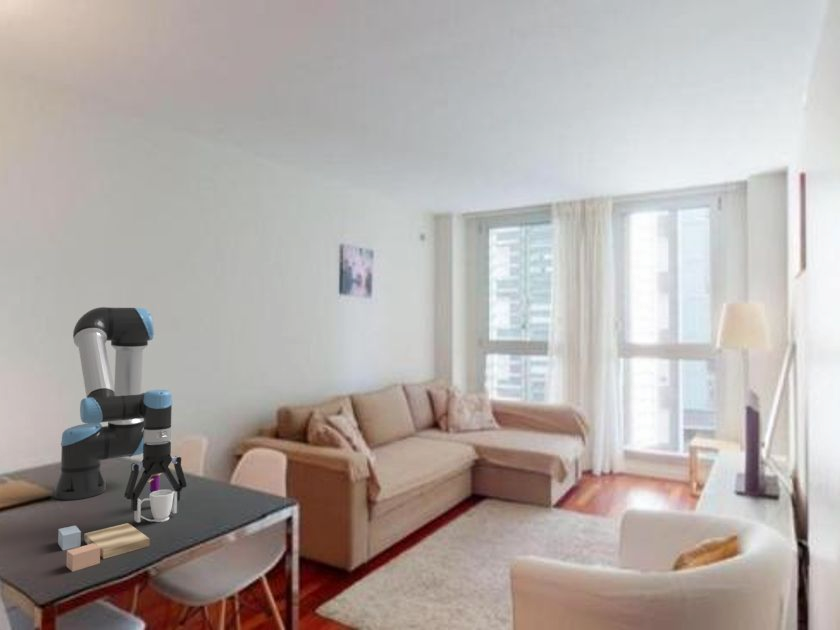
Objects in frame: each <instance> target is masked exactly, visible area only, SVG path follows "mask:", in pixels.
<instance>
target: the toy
mask: <svg viewBox="0 0 840 630" xmlns="http://www.w3.org/2000/svg"><path fill="white" fill-rule="evenodd" d="M160 475H162V473H157V474H153V475H151V477H150V478H149V479H148V481H147V483H148V484H149V483H150V485H149V487H150V488H149V490H150V493H151V492H154V491H157V490H160ZM148 507H149V508H150V509H151V505H149V506H148Z"/></svg>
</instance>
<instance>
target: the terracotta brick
mask: <svg viewBox="0 0 840 630" xmlns="http://www.w3.org/2000/svg"><path fill="white" fill-rule="evenodd" d="M65 563H66V568H68V569H69V570H70V571H71V572H76V571H79V570H82V569H86V568H89V567H91V566H95V565H98V564H100V563H101V556H100V547H99V546H97V545H96V544H94V543H92V544H89V545H88V544H86V545H82V546H80V547H76V548H71V549H67V550H66V562H65Z"/></svg>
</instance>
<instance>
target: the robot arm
mask: <svg viewBox="0 0 840 630" xmlns="http://www.w3.org/2000/svg"><path fill="white" fill-rule="evenodd" d="M154 327H155V326H154V321H153V318H152V315H151V312H150V311H149V310H148V309H146V308H141V307H107V306H105V307H104V306H102V307H96V308H93V309H91V310H88V311H87V312H86V313H84V314H83V315H82V316H81V317H80V318H79V319H78V321H77V322H76V324H75V326H74V329H73V334H72V338H73V343H74V345H75V346H76V347H77V348H78V353H79V358H80V364H81V371H82V376H83V385H84V389H85V390H84V391H85V394H86V395H85V396H86V397H85V398H82V400H80V404H79V416H80V420H81V422H82V424H77V425H75V426H71V427H69V428H67V429H65V430H64V431H63V432H62V434H61V441H60V442H61V443H60V446H61V450H60V451H61V452H60V453H61V456H60V457H61V458H60V474H59V478H58V480H57V483H56V484H55V488H54V489H53V490H54V493H53V495H54V496H53V497H54V498H55V499H56V500H64V501H65V500H66V501H67V500H68V501H70V500H81V499H82V500H83V499H87V498H92V497H95V496H99V495H101V494H102V493H104V492H106V490H107V487H106V486H107V485H106V480H105V477H104V475H103V472H102V469H101V461H104V460H105V461H106V460H112V459H113V460H114V459H119V458H127V457H128V458H129V457H130V458H131V457H134V456H139V455H140V456H141V455H142V460H141V462H137V463H135V462H132V463H131V464H130V465H131V466H130V467H131V468H130V469H131V472H130V475H129V479H128V482H127V486H126V488H125V491H124V496H123V497H124V498H126V499H127V500H130V501H131V502H130V509H131V511H133V513H134V514H133V515H134V517H133V518H134V521H135V522H136V523H141V515H142V514H141V510H142V508H141V507H142V506H141V505H142V503H141V500H142V499H140V498H139V497H140V495H141V494H142V492H143V490H144V488H145V487H146V484H147V483H148V481H149V480H150V479H151V477H152V476H153V474H157V473H163V474H164V476H165V477H166V478H167V480H168V482H169V484H170V485H171V486H172V488H173V489H172V490H173V491H174V497H173V503H172V508H171V512H170V513H173V514H177V513H178V502H179V501H180V500H181V492H182V490H183V488H184V489H185V488H186V487H187V481H186V478H185V474H184V470H183V467H182V457H181V456H179V455H175V456H171V453H172V451H171V450H172V442H171V440H172V405H173V399H172V391H170V390H169V389H152V390H148V391H145V392H142V378H143V377H142V376H143V373H142V372H143V352H144V350H145V348H146V347H147V346H148V345H149V344H148V343H149V341H152V340H153V339H154V335H155V328H154ZM108 341H110V346H111V347H112V348H113V349H114V350H115V357H114V358H115V361H114V362H115V364H114V365H115V366H114V380H113V378H112V377H113V376H112V371H111V367H110V361H109V357H108V353H107V347H106V342H108ZM113 381H114V382H113ZM101 423H107V425H105V426H103V425H102V424H101ZM171 463H172V464H173V467H174V470H175V474H176V478H177V480H176V478H175V477H174V475H173V473H172V470H171V469H170V468H169V466H170V465H171ZM141 468H143V469H144V470H143V472H142V475H141V477H140V478H139V475H140V471H141ZM157 475H158V474H157ZM138 478H139V480H138ZM137 480H138V483H137ZM136 483H137V484H136Z"/></svg>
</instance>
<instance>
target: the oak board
mask: <svg viewBox="0 0 840 630" xmlns="http://www.w3.org/2000/svg"><path fill="white" fill-rule="evenodd" d="M83 536H84V537H83V541H84V542H85V543H86V545H89V544H92V543H94V544H96V545H97V546H99V547H100V558H102V559H103V560H105V559H108V558H109V559H110V558H112V557H115V556H120V555H123V554H126V553H130V552H133V551H137V550H140V549H144V548H148V547H150V543H151V541H150V540H151V539H150V537H148V535H146V534H144V533H143V532H141V531H140V530H138V529H137V528H136V527H134V526H133V525H132V524H130V523H129V522H126V523H123V524H119V525H115V526H110V527H106V528H101V529H98V530H94V531H93V530H92V531H90V532H86V533H84V534H83Z"/></svg>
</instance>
